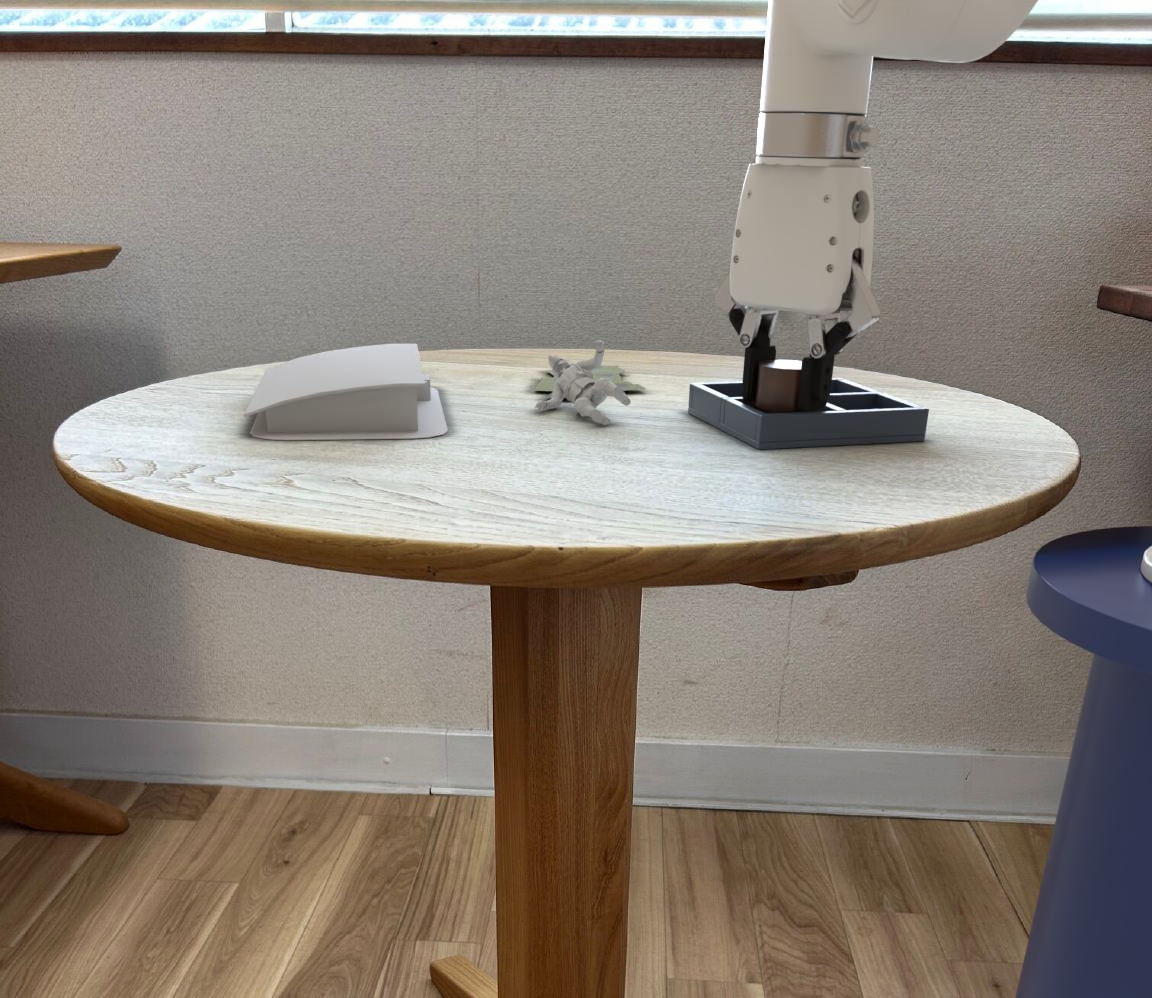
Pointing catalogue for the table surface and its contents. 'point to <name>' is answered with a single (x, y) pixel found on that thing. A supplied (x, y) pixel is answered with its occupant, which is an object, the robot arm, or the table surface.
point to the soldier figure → (582, 386)
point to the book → (348, 397)
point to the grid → (811, 417)
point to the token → (778, 385)
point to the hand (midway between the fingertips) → (784, 401)
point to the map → (598, 373)
